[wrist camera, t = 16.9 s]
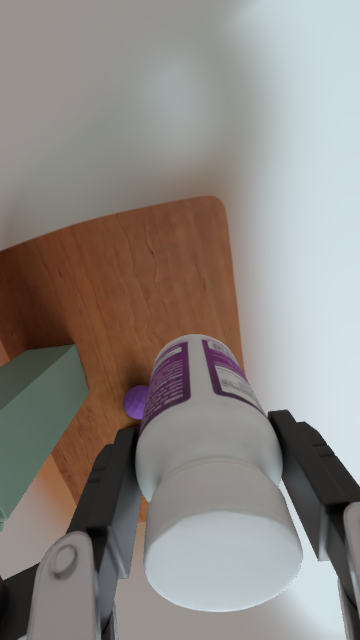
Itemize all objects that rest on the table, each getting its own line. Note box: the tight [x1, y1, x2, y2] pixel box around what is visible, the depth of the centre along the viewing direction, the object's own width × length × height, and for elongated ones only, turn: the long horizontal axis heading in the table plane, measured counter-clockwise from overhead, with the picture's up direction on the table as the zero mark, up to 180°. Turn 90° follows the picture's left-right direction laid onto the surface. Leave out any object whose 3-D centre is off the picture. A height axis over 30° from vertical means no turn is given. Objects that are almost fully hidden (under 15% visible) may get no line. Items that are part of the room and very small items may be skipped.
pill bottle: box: [135, 334, 303, 612], centre depth 10 cm, size 5×5×10 cm
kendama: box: [123, 385, 149, 419], centre depth 45 cm, size 6×6×20 cm
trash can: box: [0, 344, 89, 521], centre depth 34 cm, size 11×10×23 cm
